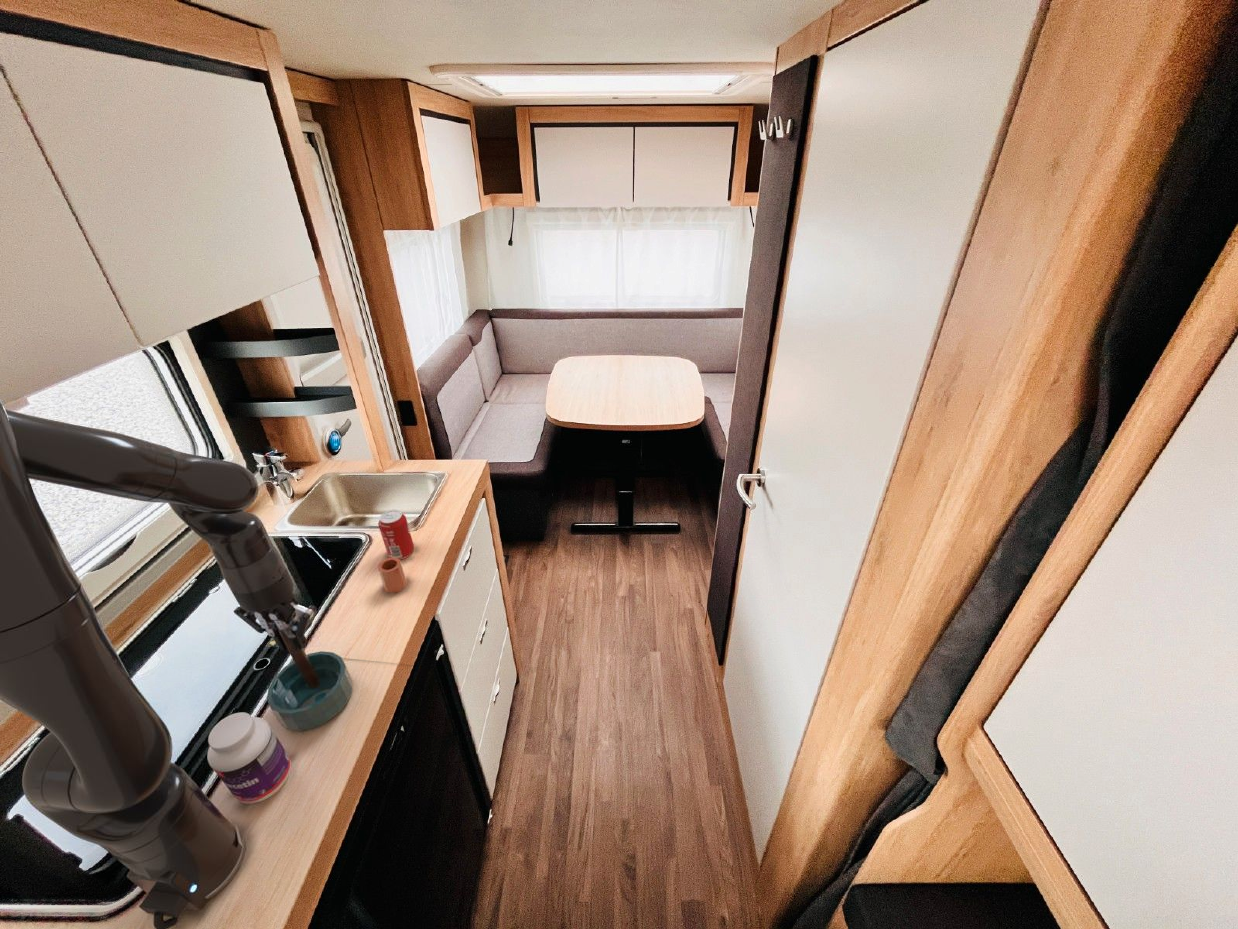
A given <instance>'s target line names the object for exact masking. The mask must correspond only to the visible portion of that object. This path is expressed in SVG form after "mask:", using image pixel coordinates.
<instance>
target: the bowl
mask: <svg viewBox="0 0 1238 929" xmlns="http://www.w3.org/2000/svg"><path fill="white" fill-rule="evenodd" d="M306 655H307V657H308V659H309V661H310V663H311V665H312V667H313V669H314V671H315V673H316V675H317V677H318V679H319V681H320V685H319V686H318V687H317V688H315V689H309V688H308V687H307V685H306V683H305V681H304V679H303V677H302V675H301V673H300V671H299V670H298V668H297V666H296V664H295V662H294V660H292V661H291V662H289V663H288V664H287V665H286V666H284V667H283V668H282V669H281V670H280V671H279V672H278V673H277V674H276V675H275V676H274V678H273V679H272V681H271V682H270V685H269V687H268V689H267V694H266V701H267V703H268V705H269V708H270V710H271V711H272V713H273V714H274V716H275V717H276V719H277V720H278V722H279V724H280V725H281V726H283V727H284V728H286V729H287V730H290V731H291V730H292V731H298V732H299V731H300V732H301V731H307V730H311V729H315V728H317V727H319V726H321V725H323V724H325V723H327V722H329V721H330V720H331V719H333V718H334V717H335V716H337V714H339V713H340V712H341V711H342V710H343V708H344V707H345V706H346V705H347V704H348V703H349V700H350V698H351V695H352V692H353V686H354V684H353V683H354V682H353V679H352V676H351V674H350V672H349V670H348V667H347V666H346V663H345V661H344V660H343V658H342V656H340V655H338V654H337V653H335V652H332V651H316V652H310V653H308V654H307V653H306Z"/></svg>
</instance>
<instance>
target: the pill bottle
mask: <svg viewBox="0 0 1238 929" xmlns="http://www.w3.org/2000/svg"><path fill="white" fill-rule="evenodd" d="M207 738H208V739H207V742H208V745H209V747H208V750H207V755H206V756H207V762H208V765H209V766H210V768H211V769H212V770H213V771H214V773H215V774H216V775H217V777H219V779H220V780H221V782H222V783H223V784H224V785H225V786H226V788H227V789H228V790H229V791H230V793H231V794H232V795H233V797H234V798H235V799H236V800H237V801H238V802H240V803H242V804H249V805H251V804H257V803H260V802H262V801H265V800H267V799H268V798H270V797H272V796H273V795H274V794H276V793H277V792H278V791H279V790H280V789H281V788H282V787H283V786H284V784H285V783H286V782H287V780H288V779H289V775H290V773H291V770H292V760H291V757H290V756H289V754H288V752H287V750H286V749H285V748H284V747H283V745H282V743H281V741H280V740H279V738H278V736H277V735H276V733H275V732H274V730H273V729H272V727H271V725H270V724H269V722H268V721H267V720H266V719H264V718H262V717H258V716H252V715H251V714H249V713H248V712H245V711H244V712H242V711H241V712H235V713H232V714H230V715H227V716H225V717H224V718H223V719H221V720H220V721H219V722H217V723H216V725H215V726H213V727H212V729H211V731H210V732H209V735H208V737H207Z"/></svg>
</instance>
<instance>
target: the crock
mask: <svg viewBox="0 0 1238 929" xmlns="http://www.w3.org/2000/svg"><path fill="white" fill-rule="evenodd" d="M377 571H378V573H379V576H380V580H381V582H382V585H383V588H384V591H385V592H386V593H389V594H395V593H399V592H401V591H403V590H404V589H405V588H406V587H407V585H408V582H407V577H406V574H405V571H404V568H403V564H402V561H401V559H398V558H393V557H392V558H390V557H388V558H385V559H383V560H382V561H380V562H379V563H378V565H377Z"/></svg>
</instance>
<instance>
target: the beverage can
mask: <svg viewBox="0 0 1238 929" xmlns="http://www.w3.org/2000/svg"><path fill="white" fill-rule="evenodd" d="M377 525H378V528H379V532H380V535H381V538H382V542H383V544H384V547H385V550H386V553H387V556H388V558H392V557H393V558H398V559H399V560H403V559H406V558H408V557H409V556H411V554H412V553H413V552H414V550H415V544H414V541H413V538H412V533H411V530H410V526H409V524H408V518H407V517H406V515H405V514H404V513H402V511H400V510H398V509H391V510H387V511H385V512H383V513H382V514H381V515H380V516H379V520H378V524H377Z"/></svg>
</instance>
